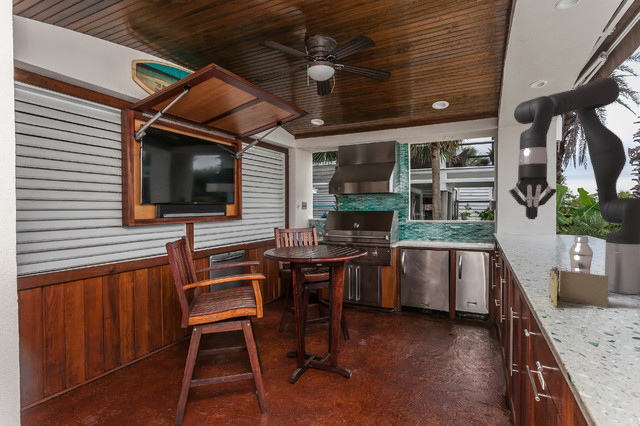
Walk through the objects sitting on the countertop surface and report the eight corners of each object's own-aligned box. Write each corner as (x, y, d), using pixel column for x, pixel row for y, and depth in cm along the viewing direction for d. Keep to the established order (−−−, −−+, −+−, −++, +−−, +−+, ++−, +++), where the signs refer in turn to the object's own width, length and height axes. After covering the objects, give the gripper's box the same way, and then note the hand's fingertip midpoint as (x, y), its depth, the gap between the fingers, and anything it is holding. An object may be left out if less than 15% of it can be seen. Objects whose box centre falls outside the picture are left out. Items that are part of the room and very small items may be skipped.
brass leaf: (546, 295, 108) (547, 268, 108) (558, 297, 106) (558, 269, 106) (552, 305, 97) (552, 275, 97) (564, 307, 95) (565, 277, 95)
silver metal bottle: (586, 293, 113) (588, 235, 113) (595, 298, 107) (597, 237, 106) (564, 291, 115) (565, 235, 115) (572, 296, 109) (573, 236, 108)
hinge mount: (553, 294, 111) (553, 264, 111) (608, 303, 102) (609, 270, 101) (549, 298, 106) (549, 267, 106) (607, 308, 96) (608, 274, 96)
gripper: (552, 164, 103) (551, 219, 103) (505, 165, 107) (504, 218, 107) (562, 161, 96) (561, 220, 96) (511, 162, 100) (510, 219, 100)
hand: (531, 219), depth 102 cm, fingers closed
